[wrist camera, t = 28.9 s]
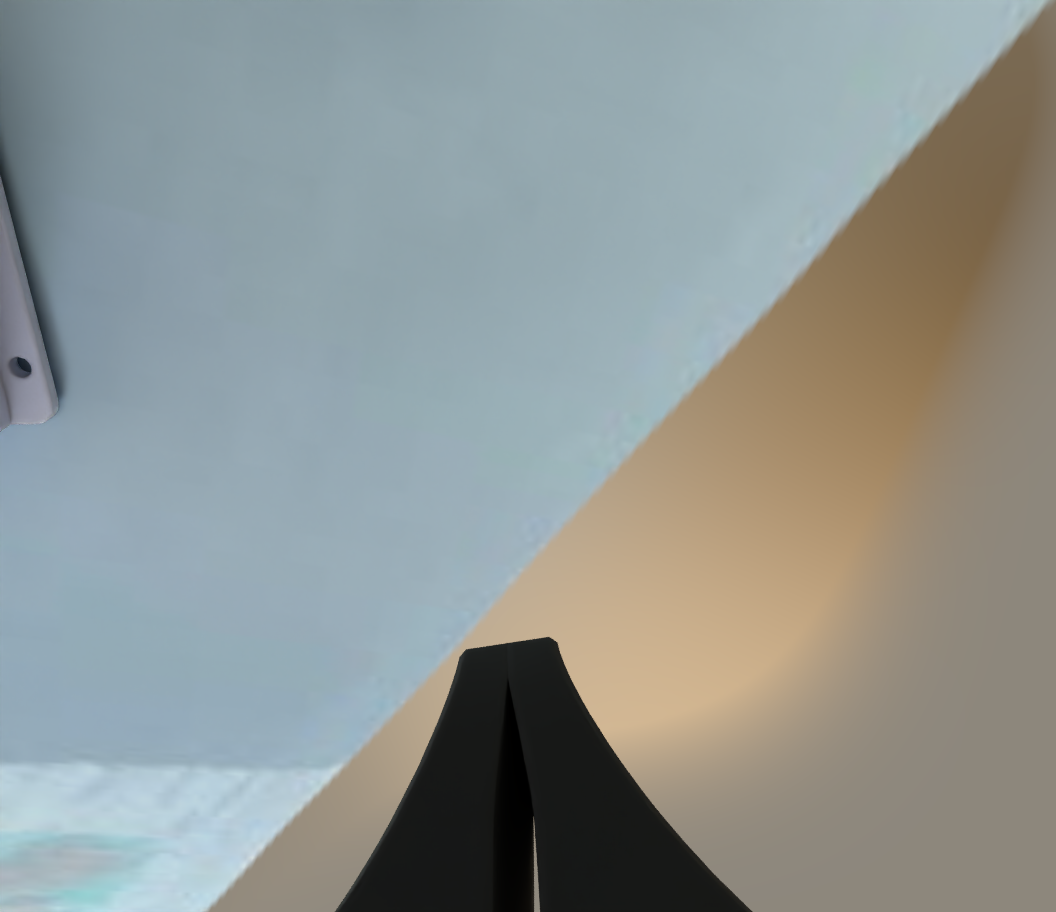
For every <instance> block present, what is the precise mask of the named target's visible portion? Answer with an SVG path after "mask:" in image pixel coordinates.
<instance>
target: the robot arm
mask: <svg viewBox="0 0 1056 912" xmlns="http://www.w3.org/2000/svg"><path fill="white" fill-rule="evenodd" d="M17 357H21V358H24V359H25V360H27V361H28V362H29V363H30V365H31V367H32V373H30V372H25V371H24V370H23V369H21V368H20V366H19V365H18V363H17ZM58 409H59V400H58V397H57V393H56V389H55V385H54V381H53V377H52V373H51V370H50V366H49V362H48V358H47V354H46V350H45V346H44V342H43V339H42V335H41V331H40V327H39V323H38V319H37V315H36V312H35V308H34V304H33V300H32V296H31V292H30V288H29V284H28V281H27V277H26V273H25V269H24V265H23V261H22V257H21V253H20V250H19V246H18V242H17V238H16V234H15V230H14V226H13V223H12V219H11V215H10V211H9V207H8V203H7V199H6V195H5V192H4V188H3V184H2V180H1V176H0V432H1V431H2V430H4V429H5V428H7V427H8V426H10V425H14V424H40V423H45V422H46V421H47V420H49V419H50V418H51V417H53V416H54V415H55V414H56V413H57V411H58ZM533 816H534V823H535V838H536V852H537V866H538V882H539V899H540V912H752V911H751V910H750V909H749V908H748V907H747V906H746V905H745V904H744V903H743V902H742V901H741V900H740V899H739V898H738V897H737V896H736V895H735V894H734V893H733V892H732V891H731V890H730V889H729V888H728V887H726V886H725V885H724V884H723V883H722V882H721V881H720V880H719V879H718V878H717V877H716V876H715V875H714V874H713V873H712V872H711V870H710V869H709V868H708V867H707V866H706V865H705V864H704V863H703V862H702V861H701V860H700V858H699V857H698V856H697V855H696V854H695V853H694V852H693V851H692V850H691V849H690V848H689V846H688V845H687V844H686V843H685V842H684V841H683V840H682V838H681V837H680V836H679V835H678V834H677V833H676V831H675V830H674V829H673V828H672V827H671V826H670V824H669V823H668V822H667V821H666V820H665V819H664V817H663V816H662V815H661V814H660V813H659V811H658V810H657V809H656V808H655V806H654V805H653V804H652V803H651V802H650V800H649V799H648V798H647V796H646V795H645V794H644V792H643V791H642V790H641V788H640V787H639V786H638V784H637V783H636V782H635V780H634V779H633V778H632V776H631V775H630V773H629V772H628V771H627V770H626V768H625V767H624V765H623V764H622V763H621V761H620V760H619V758H618V757H617V755H616V754H615V753H614V751H613V749H612V748H611V747H610V745H609V743H608V742H607V740H606V739H605V737H604V736H603V734H602V732H601V731H600V729H599V728H598V726H597V725H596V723H595V721H594V720H593V718H592V716H591V715H590V714H589V712H588V710H587V708H586V706H585V705H584V703H583V701H582V699H581V698H580V696H579V694H578V692H577V690H576V688H575V686H574V684H573V682H572V680H571V678H570V676H569V674H568V672H567V669H566V667H565V665H564V662H563V660H562V657H561V654H560V651H559V648H558V644H557V642H556V641H554V640H553V639H551V638H550V637H546V638H539V639H533V640H526V641H519V642H513V643H506V644H499V645H493V646H486V647H480V648H473V649H466V650H465V651H464V653H463V654H462V655H461V656H460V658H459V662H458V666H457V670H456V673H455V676H454V679H453V682H452V685H451V688H450V691H449V694H448V697H447V700H446V702H445V705H444V707H443V710H442V713H441V715H440V718H439V720H438V723H437V725H436V727H435V730H434V732H433V735H432V737H431V739H430V741H429V744H428V746H427V748H426V750H425V753H424V755H423V757H422V760H421V762H420V764H419V766H418V768H417V770H416V772H415V775H414V776H413V778H412V780H411V782H410V784H409V786H408V788H407V790H406V792H405V794H404V796H403V798H402V800H401V802H400V804H399V806H398V808H397V810H396V812H395V814H394V816H393V818H392V820H391V821H390V823H389V825H388V827H387V829H386V831H385V832H384V834H383V836H382V838H381V839H380V841H379V843H378V845H377V846H376V848H375V850H374V851H373V853H372V855H371V857H370V858H369V860H368V861H367V863H366V865H365V866H364V868H363V869H362V871H361V873H360V874H359V876H358V878H357V879H356V881H355V882H354V884H353V886H352V887H351V889H350V890H349V892H348V893H347V895H346V897H345V898H344V899H343V901H342V902H341V904H340V905H339V907H338V908H337V910H336V911H335V912H534V830H533V829H534V828H533V827H534V826H533Z"/></svg>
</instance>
